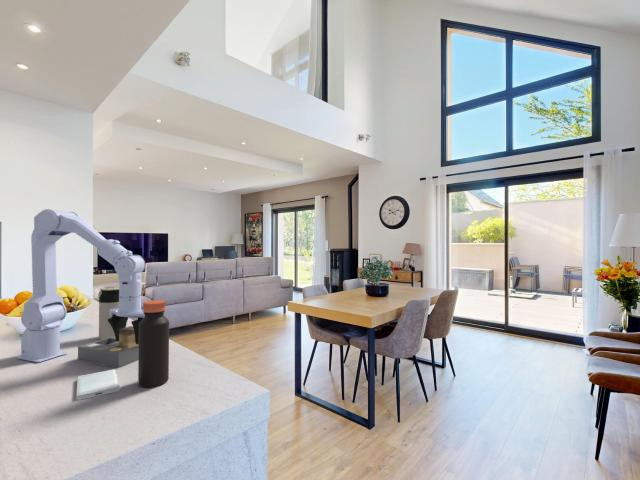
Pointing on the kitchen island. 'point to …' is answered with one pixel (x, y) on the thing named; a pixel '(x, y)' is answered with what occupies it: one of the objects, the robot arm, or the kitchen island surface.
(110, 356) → the socket block
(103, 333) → the travel mug
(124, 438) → the kitchen island surface
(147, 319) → the bottle
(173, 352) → the kitchen island surface
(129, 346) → the plug
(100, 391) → the hard drive
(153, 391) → the kitchen island surface
